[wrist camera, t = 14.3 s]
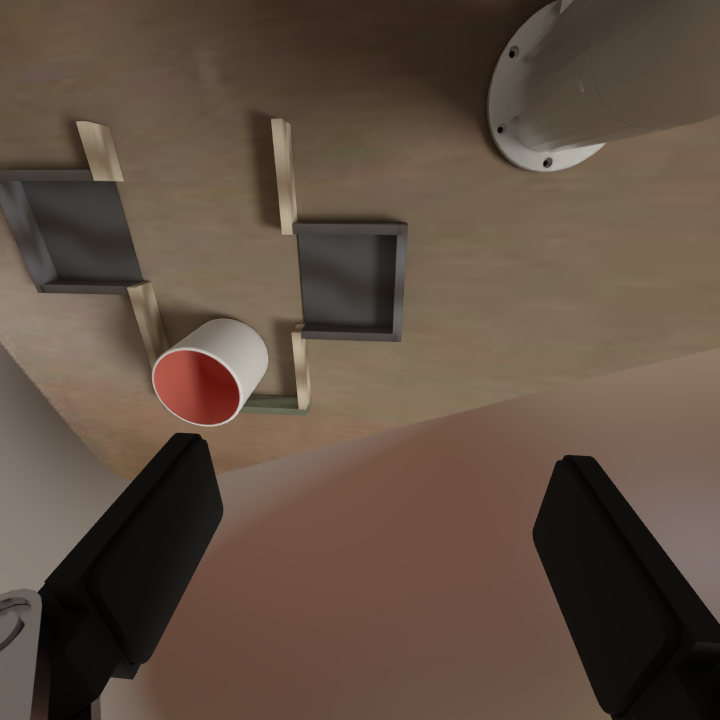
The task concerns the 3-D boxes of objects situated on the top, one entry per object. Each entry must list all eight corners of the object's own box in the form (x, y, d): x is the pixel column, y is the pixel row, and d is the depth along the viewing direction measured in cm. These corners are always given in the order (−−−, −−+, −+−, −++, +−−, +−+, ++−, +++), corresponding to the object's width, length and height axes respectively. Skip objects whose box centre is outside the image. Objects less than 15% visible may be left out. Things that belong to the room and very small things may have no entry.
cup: (185, 321, 44) (134, 354, 36) (257, 309, 43) (223, 341, 34) (213, 386, 49) (174, 431, 40) (280, 378, 47) (254, 422, 38)
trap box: (-8, 127, 36) (-40, 123, 33) (412, 122, 33) (414, 116, 30) (98, 393, 51) (82, 405, 48) (396, 407, 48) (396, 419, 45)
